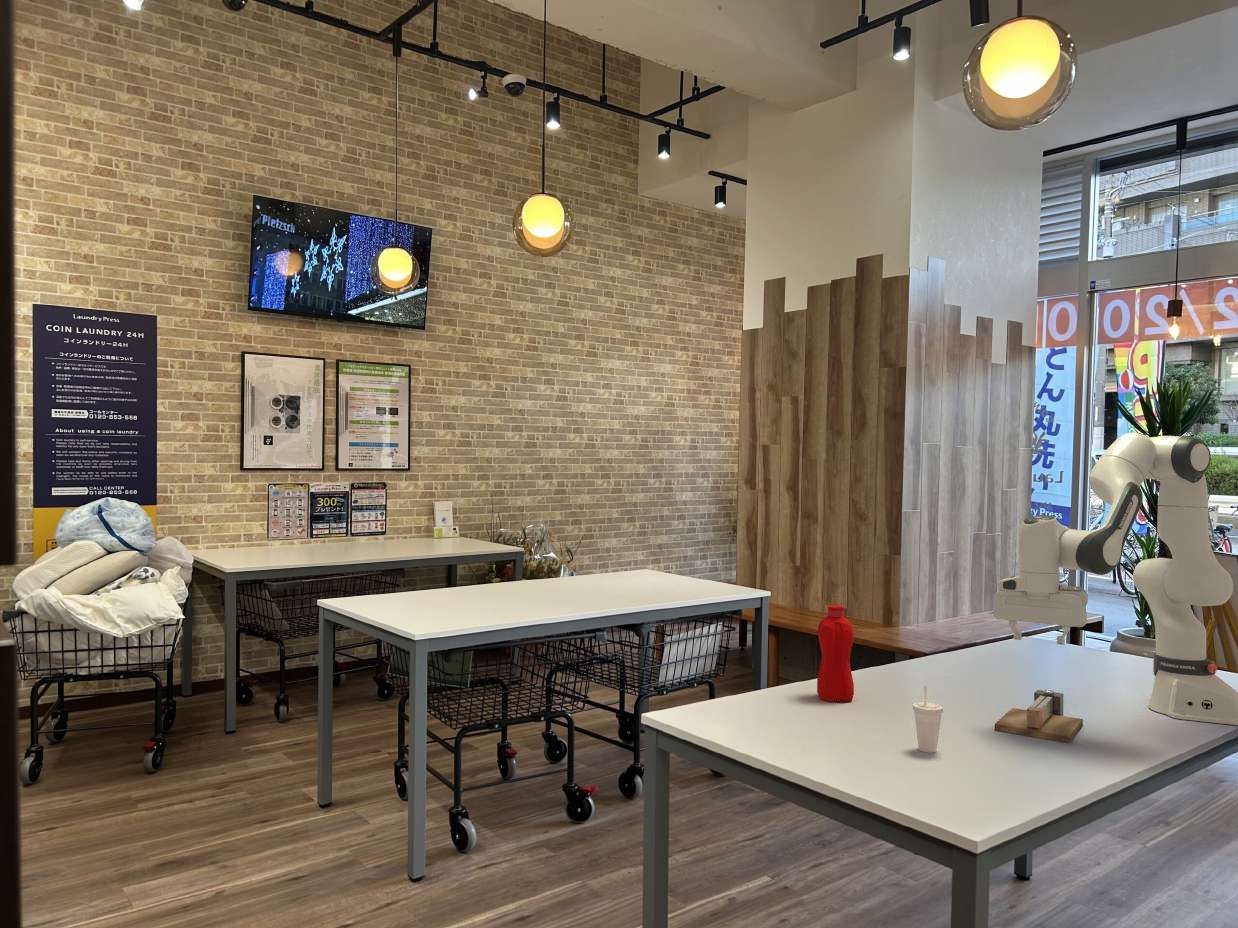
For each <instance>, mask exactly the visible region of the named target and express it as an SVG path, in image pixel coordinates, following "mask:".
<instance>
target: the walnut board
mask: <svg viewBox="0 0 1238 928" xmlns="http://www.w3.org/2000/svg"><path fill="white" fill-rule="evenodd" d="M1083 725H1084V720H1083V718H1079V717H1073V716H1072V717H1071V716H1067V715H1063V716H1061V715H1054V714H1052V715H1051V716H1050V717H1049V718H1048V719H1047V720H1046V721H1045V722H1044V723H1043V724H1042V726H1041V727H1040V728H1033V727H1027V709H1022V708H1016V707H1012V708H1011V709H1009V710H1008V711H1007V712H1006V713H1005V714H1004V715H1003V716H1001V718H999V719H998V720H997V721H996V722H995V723H994V731H997V732H1003V733H1008V734H1014V735H1019V736H1027V737H1033V738H1036V739H1037V738H1038V739H1043V740H1050V741H1056V742H1061V743H1067V744H1070V743H1071V742H1072V740H1073V739H1074V738H1075V736H1076V735H1077V733H1078V732H1079V731H1080V729H1081V728H1082V727H1083Z"/></svg>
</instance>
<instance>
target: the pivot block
mask: <svg viewBox="0 0 1238 928" xmlns="http://www.w3.org/2000/svg"><path fill="white" fill-rule="evenodd" d="M1040 695H1041V696H1046V697H1053V714H1054V715H1061V716H1064V698H1065V697H1064V693H1063V692H1055V690H1053V689H1043V690H1041V689H1037V690H1036V691H1034V693H1033V702H1034V701H1035V700H1036V699H1037V698H1038V697H1039V696H1040Z"/></svg>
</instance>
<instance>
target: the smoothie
mask: <svg viewBox="0 0 1238 928" xmlns="http://www.w3.org/2000/svg"><path fill="white" fill-rule="evenodd" d="M927 693H928V686H927V685H924V686H923V701H922V702H919V701H918V702H914V703H913V704H912V710H913V713H914V719H915V727H916V729H915V730H916V738H917V746H918V747H917V748H918V750H919V751H920V752H923V753H936V752H937V748H938V742H939V734H940V727H941V722H942V721H941V720H942V714H944V707H943V706H942V705H940V704H938V703H933V702H928V698H927V697H928V696H927V695H928V694H927Z"/></svg>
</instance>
